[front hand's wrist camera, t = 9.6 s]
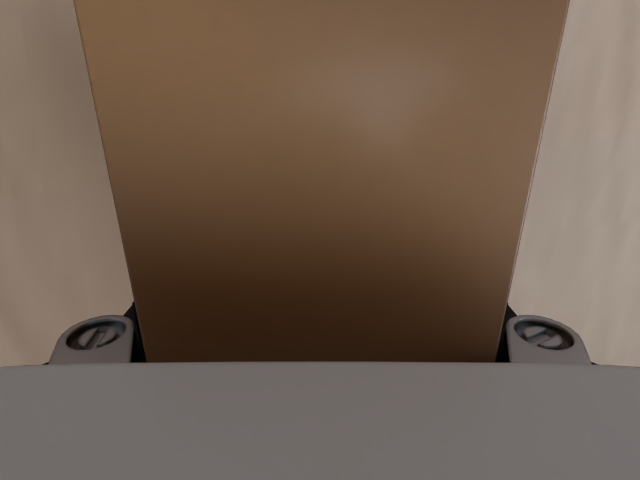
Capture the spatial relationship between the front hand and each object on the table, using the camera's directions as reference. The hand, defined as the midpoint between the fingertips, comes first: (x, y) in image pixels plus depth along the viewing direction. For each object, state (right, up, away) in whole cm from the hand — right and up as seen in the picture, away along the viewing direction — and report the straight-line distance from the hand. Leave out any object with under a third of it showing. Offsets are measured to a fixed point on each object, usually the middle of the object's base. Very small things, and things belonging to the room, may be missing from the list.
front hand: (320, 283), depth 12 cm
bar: (0, -30, +16) cm, 34 cm away
